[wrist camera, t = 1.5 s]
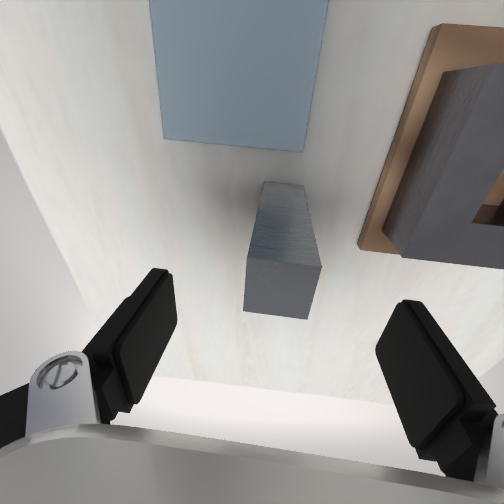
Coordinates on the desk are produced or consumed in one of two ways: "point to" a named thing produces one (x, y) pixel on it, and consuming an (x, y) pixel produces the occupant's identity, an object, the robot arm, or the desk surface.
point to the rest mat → (237, 69)
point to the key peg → (282, 255)
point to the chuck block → (454, 175)
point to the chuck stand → (421, 95)
